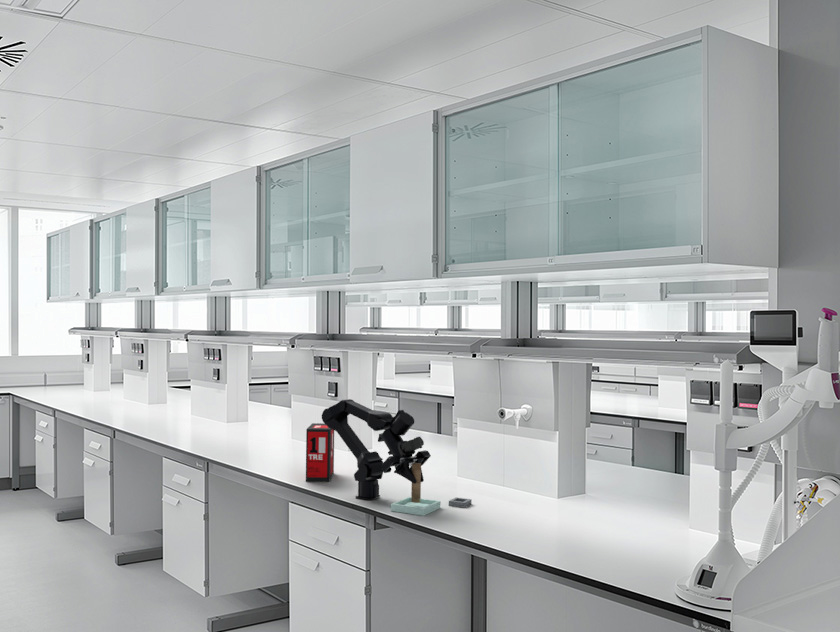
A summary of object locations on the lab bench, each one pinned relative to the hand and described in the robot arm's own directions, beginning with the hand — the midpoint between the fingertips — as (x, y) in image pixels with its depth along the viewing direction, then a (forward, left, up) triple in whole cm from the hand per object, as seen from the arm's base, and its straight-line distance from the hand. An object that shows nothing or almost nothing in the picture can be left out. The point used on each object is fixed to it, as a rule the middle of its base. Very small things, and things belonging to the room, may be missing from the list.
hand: (419, 482), depth 252 cm
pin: (-1, 0, -7) cm, 7 cm away
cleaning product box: (-57, +26, -9) cm, 64 cm away
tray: (-1, 0, -9) cm, 9 cm away
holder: (+9, +13, -9) cm, 18 cm away
